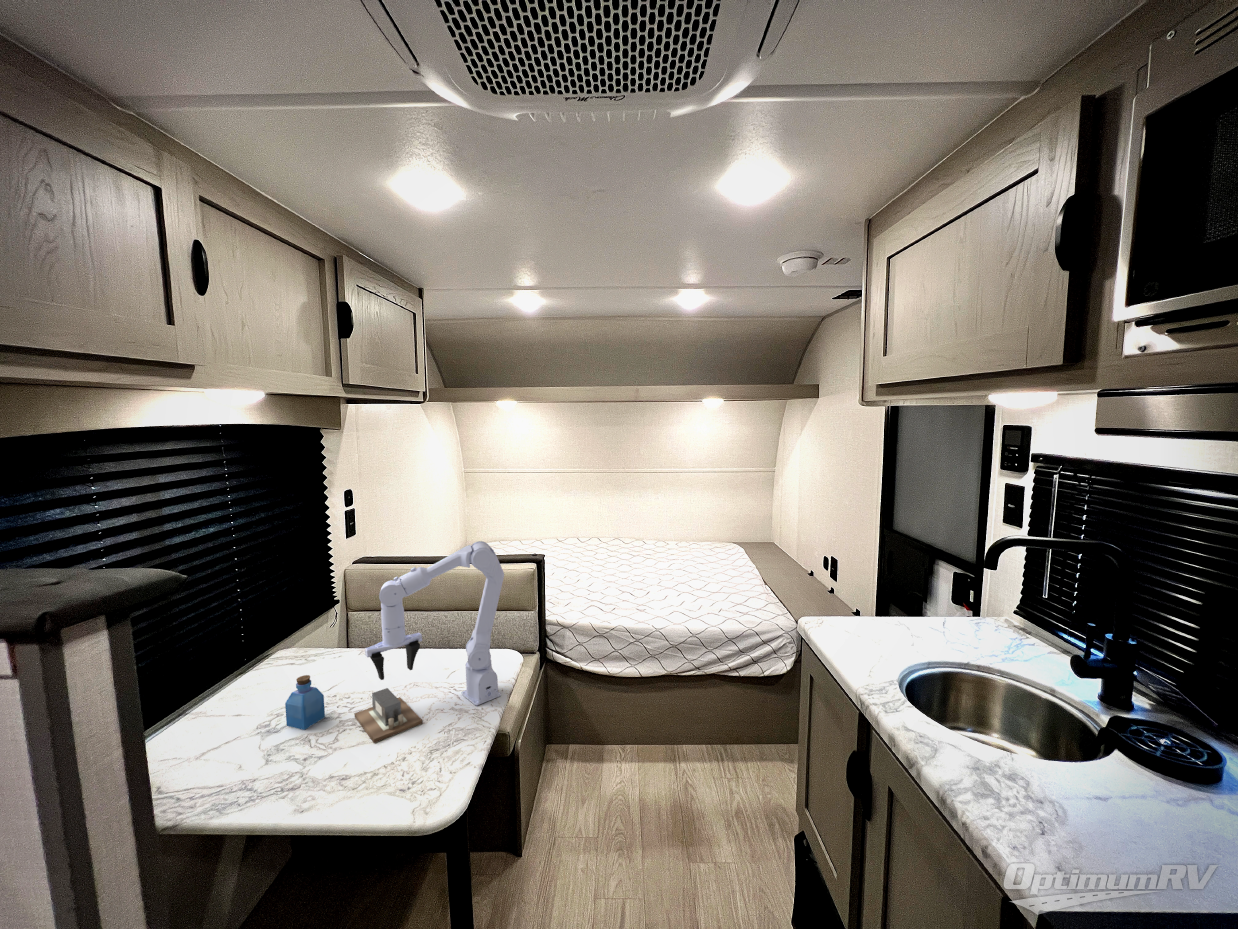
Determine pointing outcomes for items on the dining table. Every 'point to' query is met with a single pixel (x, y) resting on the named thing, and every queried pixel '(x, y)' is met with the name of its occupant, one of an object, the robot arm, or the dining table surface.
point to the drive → (386, 705)
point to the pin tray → (380, 731)
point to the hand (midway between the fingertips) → (396, 673)
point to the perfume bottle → (304, 705)
